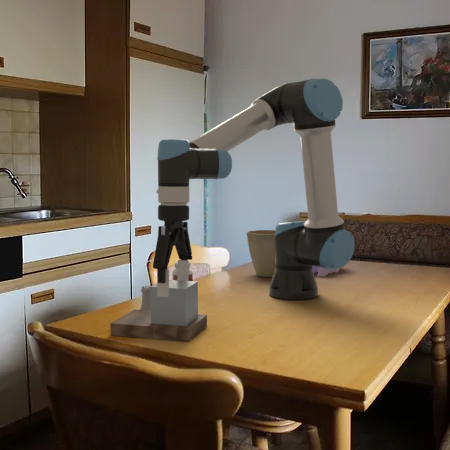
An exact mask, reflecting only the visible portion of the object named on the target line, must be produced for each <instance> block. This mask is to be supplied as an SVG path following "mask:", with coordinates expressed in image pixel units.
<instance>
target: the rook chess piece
mask: <svg viewBox="0 0 450 450" xmlns="http://www.w3.org/2000/svg"><path fill="white" fill-rule="evenodd" d="M151 286H152V285H151ZM151 286H150V285H148V286H147V285H145V286H141V289H140V292H141V293H142V295H141V297H142V299H141V306H140V308H139V309H138V310H145V311H151V299H150V287H151Z"/></svg>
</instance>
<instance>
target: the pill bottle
mask: <svg viewBox="0 0 450 450" xmlns="http://www.w3.org/2000/svg"><path fill="white" fill-rule="evenodd" d="M174 267H175V269H173V271H172V280H177V278H178V261H175V262H174ZM190 267H191V261H189V276H188V281H194V279H193V278H194V277H193V274H194V273H193V270H192V269H191V268H190Z"/></svg>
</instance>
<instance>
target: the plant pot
mask: <svg viewBox="0 0 450 450" xmlns="http://www.w3.org/2000/svg"><path fill="white" fill-rule="evenodd" d="M275 231H276V229H255V230H249V231H246V239H247V247H248V251H249V254H250V258H251V261H252V262H251V263H252V265H253V269H254V270H255V271H254V272H255V274H256V276H258V277H263V278H264V277H265V278H266V277H267V278H271V277H272V278H273V275H274V272H275Z"/></svg>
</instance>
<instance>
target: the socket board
mask: <svg viewBox="0 0 450 450" xmlns="http://www.w3.org/2000/svg"><path fill="white" fill-rule="evenodd" d="M109 327H110V336H114V337H126V338H138V339H150V340H151V339H152V340H162V341H176V342H183V343H184V342H186V343H189V342H190V341H192V340H193V339H194V338H195V337H196V336H198V333H199V334H200V333H201V332H202V331H203V330H204V329H206V328H207V327H208V315H207V314H200V313H198V317H197V318H196V319H195V320H193V321H192V322H191V323H190V324H188V325H187V326H178V325H165V324H151V311H145V310H139V309H133V310H131V311H130V312H128V313H126V314H124V315H122V316H121V317H119V318H117V319H115V320H114V321H112V322H110V325H109ZM191 339H192V340H191Z"/></svg>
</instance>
